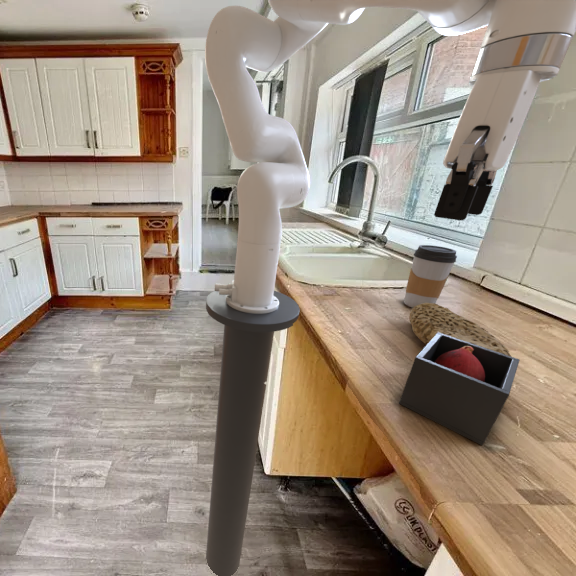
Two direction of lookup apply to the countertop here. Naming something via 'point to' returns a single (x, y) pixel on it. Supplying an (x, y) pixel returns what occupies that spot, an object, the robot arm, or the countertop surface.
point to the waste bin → (459, 388)
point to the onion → (462, 362)
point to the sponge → (450, 327)
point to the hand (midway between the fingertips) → (458, 215)
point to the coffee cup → (428, 274)
